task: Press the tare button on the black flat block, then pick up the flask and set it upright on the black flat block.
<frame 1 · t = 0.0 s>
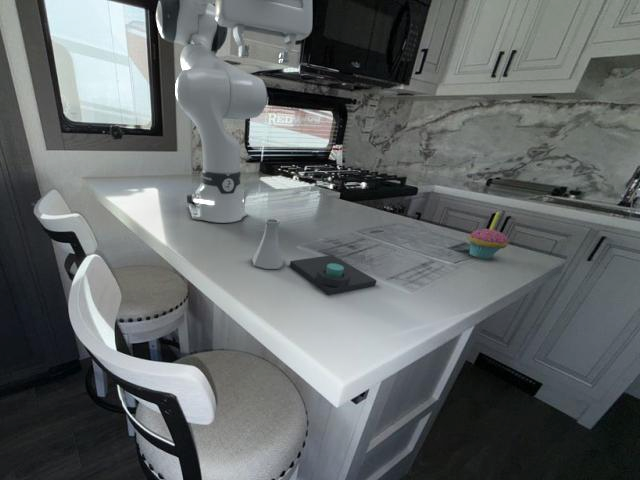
hand: (264, 60, 63), 39 cm above the worktop, tool pointing down, fingers open, 8 cm apart
black flat block: (330, 276, 66), on the worktop
tare button: (334, 270, 60), point 4 cm above the worktop, slide at 0.1 cm
flask: (267, 264, 70), on the worktop
cupcake: (480, 256, 82), on the worktop
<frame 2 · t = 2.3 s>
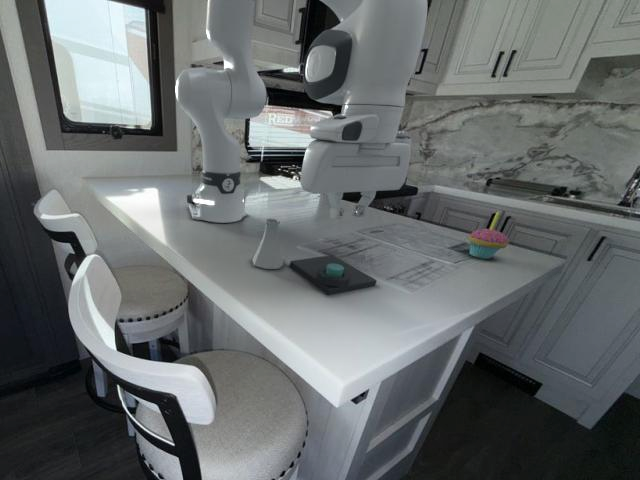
hand: (346, 217, 55), 14 cm above the worktop, tool pointing down, fingers open, 4 cm apart
nothing on the worktop moved.
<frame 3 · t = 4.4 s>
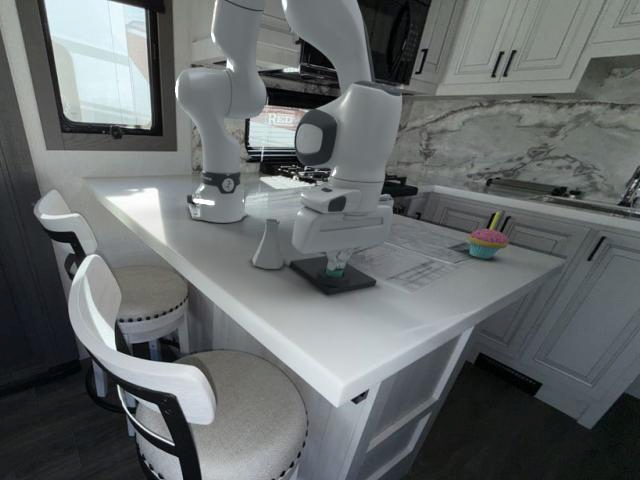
hand: (335, 268, 60), 4 cm above the worktop, tool pointing down, fingers closed, pressing on tare button
tare button: (334, 272, 60), point 3 cm above the worktop, slide at -0.3 cm, touching gripper
everything else where it was.
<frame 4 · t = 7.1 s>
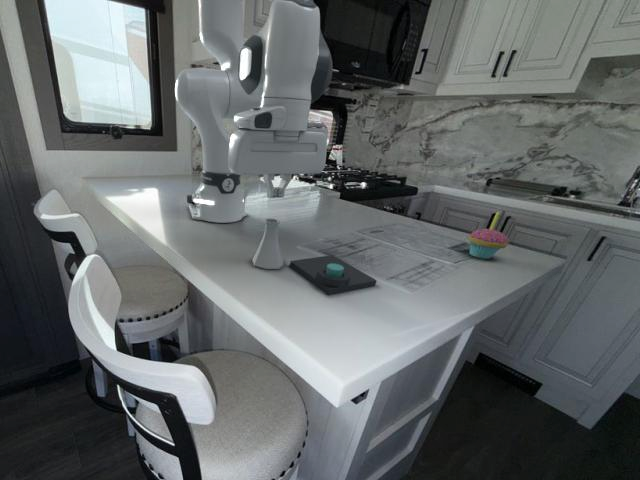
hand: (275, 197, 63), 15 cm above the worktop, tool pointing down, fingers closed
tare button: (334, 270, 60), point 4 cm above the worktop, slide at 0.1 cm
everything else where it was.
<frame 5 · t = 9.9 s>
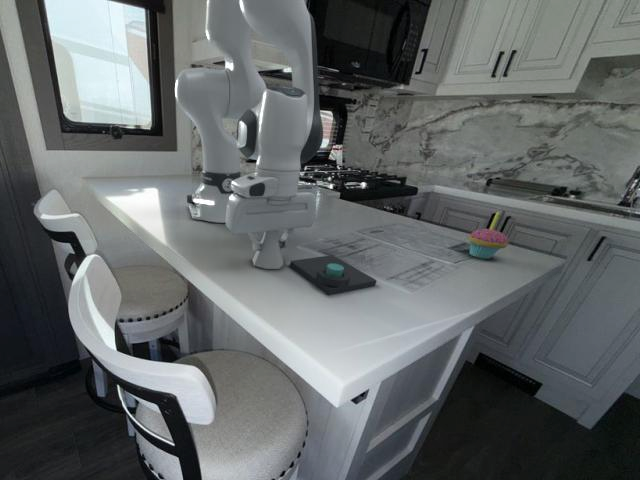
hand: (269, 248, 68), 4 cm above the worktop, tool pointing down, fingers closed on flask, 5 cm apart
flask: (267, 264, 70), on the worktop, touching gripper
everything else where it was.
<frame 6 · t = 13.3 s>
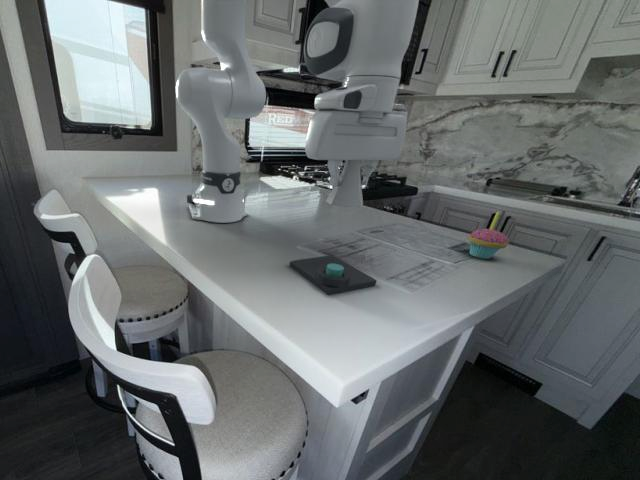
hand: (347, 185, 59), 18 cm above the worktop, tool pointing down, fingers closed on flask, 5 cm apart
flask: (343, 205, 61), point 14 cm above the worktop, touching gripper
everything else where it was.
when the fingers open (5 cm above the worktop, at t = 16.8 s): flask stays where it is, resting on black flat block.
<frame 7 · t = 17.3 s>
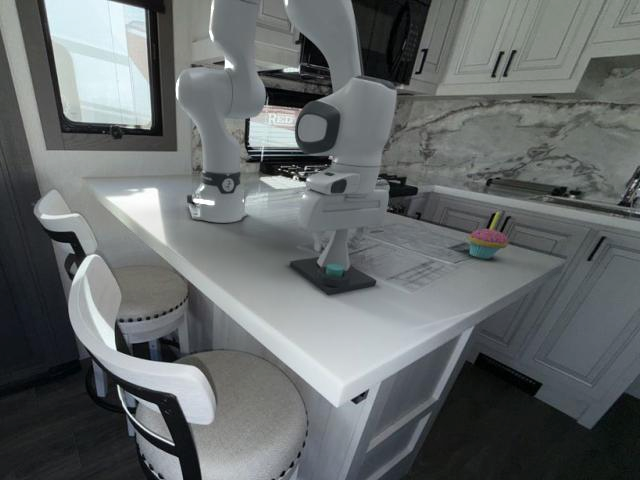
hand: (336, 248, 66), 5 cm above the worktop, tool pointing down, fingers open, 8 cm apart
flask: (332, 266, 68), point 1 cm above the worktop, touching black flat block
everything else where it was.
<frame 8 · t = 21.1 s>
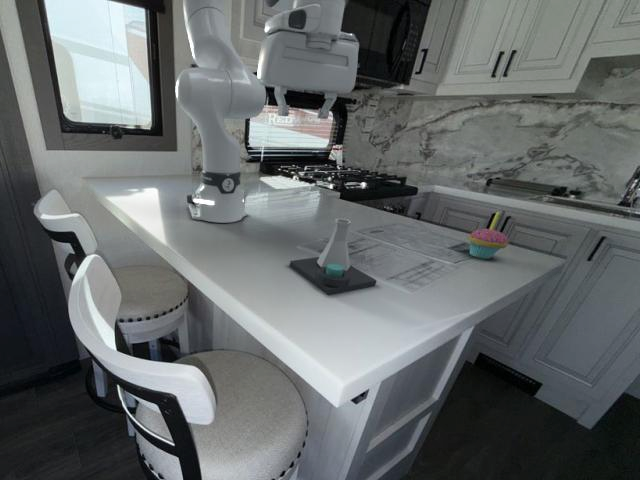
hand: (303, 117, 61), 29 cm above the worktop, tool pointing down, fingers open, 8 cm apart
nothing on the worktop moved.
at the end: tare button pushed in 0.9 cm at the most during the clip, back to where it started at the end; flask inside the target area on the black flat block (2.8 cm from its centre), point 1.2 cm above the black flat block's base; flask tilted 0° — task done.
